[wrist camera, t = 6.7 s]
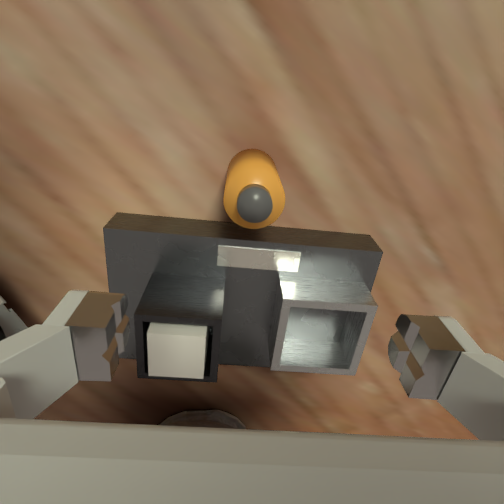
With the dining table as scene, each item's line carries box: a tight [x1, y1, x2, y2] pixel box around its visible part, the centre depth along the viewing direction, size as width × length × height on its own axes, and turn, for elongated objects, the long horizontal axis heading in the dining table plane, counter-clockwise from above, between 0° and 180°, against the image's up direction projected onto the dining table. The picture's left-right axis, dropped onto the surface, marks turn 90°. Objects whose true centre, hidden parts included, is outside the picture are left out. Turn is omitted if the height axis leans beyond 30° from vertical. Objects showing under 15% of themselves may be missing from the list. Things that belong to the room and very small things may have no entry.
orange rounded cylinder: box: [223, 149, 285, 229], centre depth 23 cm, size 4×4×7 cm
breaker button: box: [147, 322, 210, 379], centre depth 25 cm, size 4×4×5 cm
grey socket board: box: [103, 213, 383, 382], centre depth 27 cm, size 12×20×8 cm, turn 84°
